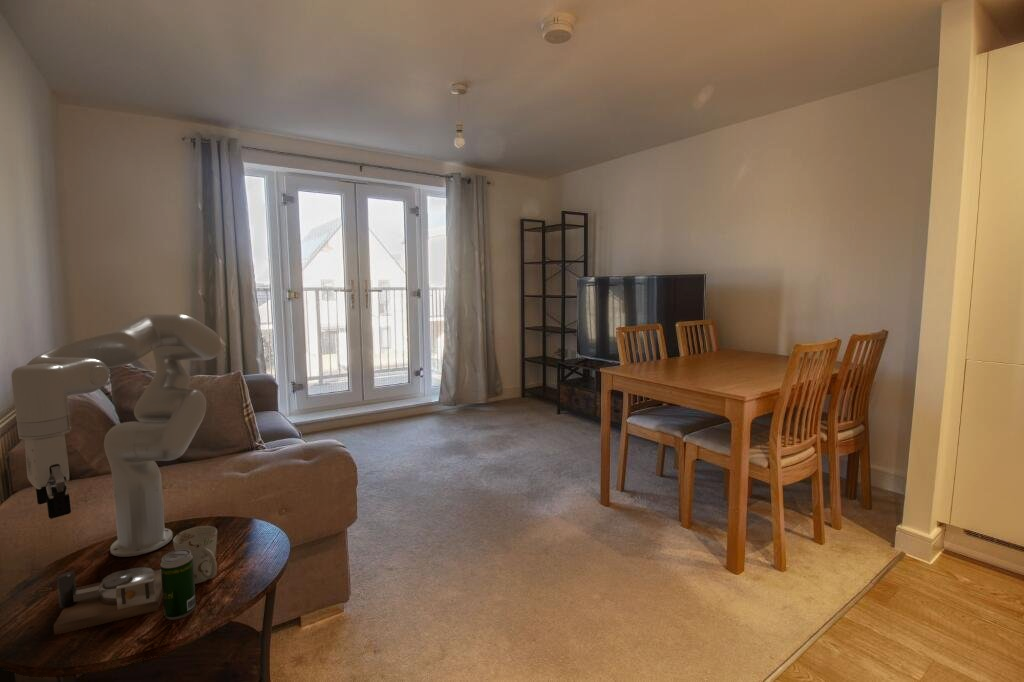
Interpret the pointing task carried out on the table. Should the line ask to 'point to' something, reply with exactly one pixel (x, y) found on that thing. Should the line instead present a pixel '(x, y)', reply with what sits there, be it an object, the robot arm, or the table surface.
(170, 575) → the beer can
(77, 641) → the table surface
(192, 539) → the mug
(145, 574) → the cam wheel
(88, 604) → the levelling stand
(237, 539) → the table surface
